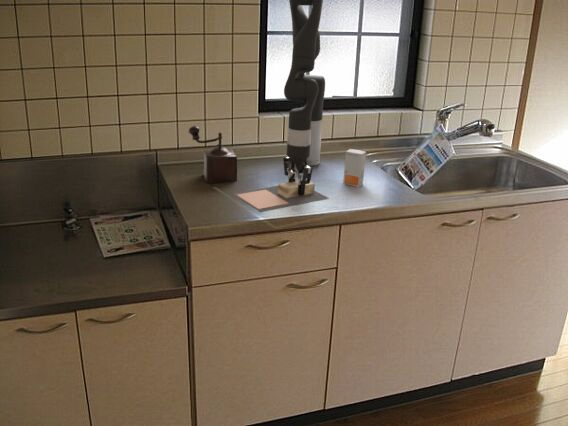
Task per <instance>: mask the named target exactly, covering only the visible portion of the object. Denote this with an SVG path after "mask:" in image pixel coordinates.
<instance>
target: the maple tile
mask: <svg viewBox="0 0 568 426" xmlns="http://www.w3.org/2000/svg"><path fill="white" fill-rule="evenodd" d="M301 181H302V179H301ZM298 184H299V183H298V180H295V181H294V182H283V183H278V185H277V186H278V194H280V195H282V196H283V197H285V198H290V197H295V196H301V195H298ZM315 186H316V183H315V182H312V181H310V183H309V184H305V193H304V195H306V194H311V193H314V190H315V189H316V187H315Z"/></svg>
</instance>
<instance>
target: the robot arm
mask: <svg viewBox="0 0 568 426" xmlns="http://www.w3.org/2000/svg"><path fill="white" fill-rule="evenodd" d="M288 1H289V9H290V14H291V26H292V30H291V31H292V55H291V65H290V69H289V74H288V77H287V79H286V82H285V85H284V87H283V94H284V97H285V98H286V100H287V101H289V102H297V103H298V102H300V103H305V104H304V105H303V106H302V107H295V108H292V109H291V110H290V111H289V113H288V128H287V129H288V130H287V134H286V136H287V137H286V156H287V157H283V158H282V159H283V160H282V161H283V170H284V171H283V172H284V175H285V176H286V177H287V179H288V182H294V181H296V178H297V181H298V183H299V184H298V195H304V193H305V184H309V183H310V182H311V179H312V174H313V170H314V169H313V167H315V166H317V165H319V164H320V161H321V159H320V158H321V147H322V146H321V144H322V132H323V131H322V130H323V129H322V128H323V111H324V101H325V92H326V79H325V77H324V76H323V75H315V74H306V73H310V72H312V71H314V68H315V63H316V62H315V60H316V59H317V58H318V56H319V54H320V52H321V35H320V31H319V28H320V22H321V17H322V13H323V12H322V10H323V4H324V0H288ZM303 6H309V7H310V6H311V11H310V15H309V16H308V14H307V13H306V12H305V10H304V9H303ZM312 166H313V167H312ZM301 180H302V181H301ZM288 182H287V183H288Z"/></svg>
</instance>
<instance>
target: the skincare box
mask: <svg viewBox="0 0 568 426" xmlns="http://www.w3.org/2000/svg"><path fill="white" fill-rule="evenodd" d="M366 158H367V151H363V150H360V149H353V148H349V149H348V150H346V151H345V159H344V170H343V182H342V184H344V185H348V186H351V187H355V188H356V187H357V188H359V187H361V186H362V185H363V184H364V175H365V165H366Z"/></svg>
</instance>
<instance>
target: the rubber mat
mask: <svg viewBox="0 0 568 426" xmlns="http://www.w3.org/2000/svg"><path fill="white" fill-rule="evenodd" d="M232 195H233V196H234V197H237V198H238V199H239V200H241V201H242V202H244V203H246V204H247V205H248V206H250V207H252V208H253V209H255V210H257V211H258V212H259V213H264V212H268V211H269V212H270V211H274V210H279V209H284V208H289V207H294V206H298V205H304V204H310V203H315V202H318V201H324V200H329V199H330V198H329V197H328V196H326V195H324V194H322V193H320V192H318V191H316V190H315V189H314V193H311V194H306V195H301V196H295V197H290V198H285V197H283V196H282V195H280V194H278V185H274V186H269V187H267V186H266V187H262V188H256V189H251V190H244V191H239V192H233V193H232Z"/></svg>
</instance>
